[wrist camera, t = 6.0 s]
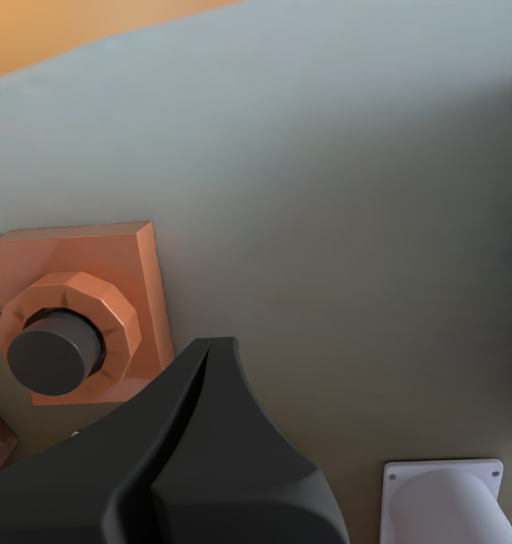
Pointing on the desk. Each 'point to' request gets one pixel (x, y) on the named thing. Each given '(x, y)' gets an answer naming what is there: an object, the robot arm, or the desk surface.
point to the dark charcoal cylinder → (55, 353)
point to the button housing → (91, 300)
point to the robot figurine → (6, 443)
